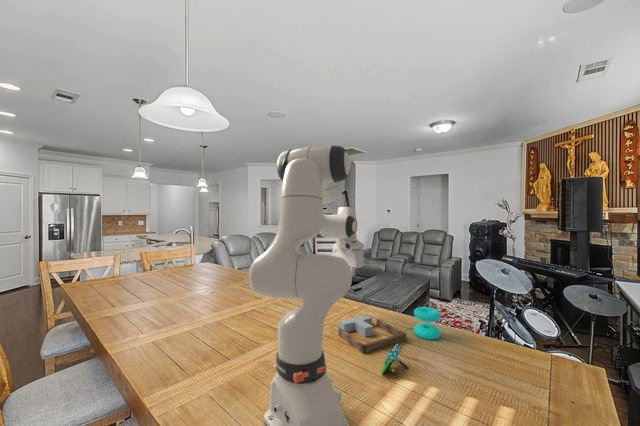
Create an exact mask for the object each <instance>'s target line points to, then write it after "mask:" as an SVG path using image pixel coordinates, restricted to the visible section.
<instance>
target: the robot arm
mask: <svg viewBox="0 0 640 426" xmlns="http://www.w3.org/2000/svg"><path fill="white" fill-rule="evenodd" d="M276 161H277V162H276V171H277V175H278V178H279V179H280V180H281V181H282V186H281V192H280V193H281V194H280V211H279V212H280V213H279V219H278V226H277V232H276V234H275V236H274V238H273V240H272V242H271V243H270V245H269V246H268V248H267V249H266V250H265V251H263V253H261V254H260V255H258V256H257V257H256V258H255V259H254V260H253V261H252V263H251V265H250V267H249V271H248V283H249V286H250V288H251V290H252V292H253V293H255V294H257V295H259V296H263V297H267V298H271V299H291V300H292V299H296V300H300V301H301V302H302V304H301V306H299V307H298V308H296V309H293V310H292V311H289V312H287V313H285V315H284V316H283V317H281V318H280V320H279V323H278V326H277V352H276V356H275V357H276V358H275V365H276V366H275V369H276V372H275V376H274V378H273V379H272V381H270V390H269V391H270V392H269V393H270V394H269V408H268V410H267V411H266V412H265V413H264V415H263V422H264V423H265V426H350V424H349V422H348V419H347V418H346V416H345V413H344V412H343V410H342V408H341V404H340V402H341V401H342V400H343V399H342V392H341V391H340V389H336V390H335V388H334V386H333V378H332V377H331V376H329V374H328V371H327V365H326V357H325V352H324V350H323V333H324V324H325V321H326V317H327V315H328V312H330V310H331V308H332V307H333V305H335V304H336V303H337V302H338V301H339V300H341V299H343V297H345V296H346V294H347V293H348V292H349V290H350V288H351V285H352V283H353V277H354V276H355V272H356V269H360V268H363V266H364V265H365V264H364V260H365V258H364V248H365V246H364V244H363V242H361V241H360V240H359V239H358V238H357V231H358V220H357V212H356V209H355V208H354V207H353V206H348V205H347V206H346V205H345V206H340V207H338V208H337V212H336V213H337V214H325V213H324V205H326V204H330V203H333V202H335V201H336V200H338V199H339V198H340V197H341V196H342V195H343V193H344V190H345V180H346V179H347V178H348V176H349V175H350V170H351V164H352V163H351V158H350V156H349V154H348V150H347V149H345V148H344V146H341V145H331V146H306V147H300V148H296V149H288V150H285V151H282V152H281V153H280V154H279V156H278V158H277V160H276ZM315 237H316V238H317V239H325V238H330V239H331V238H333V239H335V238H336V241H335V242H334V243H333V247H332V250H331V251H332V253H331V254H320V253H317V254H316V253H310V254H309V253H299V252H300V251H299V250H300V247H301V246H302V244H303V243H305V242H307V241H310V240H312V239H313V238H315Z"/></svg>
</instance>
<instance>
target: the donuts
mask: <svg viewBox="0 0 640 426" xmlns="http://www.w3.org/2000/svg"><path fill="white" fill-rule="evenodd" d="M413 314H414V317H416V318H417V319H418V320H420V321H422V323H417V324H416V325H415V326H414V327H413V332H414V334H415V335H416V336H417V337H419V338H421V339H424V340H428V341H429V340H433V341H434V340H438V339H439V338H440V337H441V335H442V334H441V330H440V329H439V327H438V326H436V325H435V324H431V323H434V322H439V320H440V319H441V317H442V314H441V312H440V311H439V310H438V309H436V308H434V307H429V306H418V307H416V308H414V311H413Z"/></svg>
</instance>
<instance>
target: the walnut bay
mask: <svg viewBox="0 0 640 426" xmlns="http://www.w3.org/2000/svg"><path fill="white" fill-rule="evenodd" d="M376 326H377V327H378V326H379V327H378V328H380V329H382V330H383V329H384V330H383V331H385V330H386V331H385V332H387V333H389V334H390V333H391V336H388V337H385V338H382V339H377V340H374V341H371V342H370V341H369V342H368V343H362V342H361V341H360V340H358V339H357V338H355V337H354V336H353V335H351V334H350V333H349V332H346V331H344V330H343V329H341V328H340V329H339V328H338V332H337V333H338V336H339V337H340V338H342V340H344V341H345V342H347V343H348V344H349V345H351V346H352V347H353V348H354V349H356V350H357V351H359V352H360V353H361V354H366V353H370V352H373V351H377V350H380V349H383V348H387V347H390V346H394V345H397V343H398V344H400V343H403V341H404V342H407V333H406V332H404V331H401V330H400V329H397V328H396V327H393V326H392V325H390V324H388V323H387V322H385V321H383V320H381V319H379V318H378V319H376Z"/></svg>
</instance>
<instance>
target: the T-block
mask: <svg viewBox="0 0 640 426" xmlns="http://www.w3.org/2000/svg"><path fill="white" fill-rule="evenodd" d="M338 323H339V324H338V326H339V327H338V329H340V328H341V329H343V330H344V331H346V332H347V333H349V332H354V331H355V332H356V333H358V334H359V335H361V336H362V337H364V338H366V337H367V338H368V337H371V336H374V326H373V318H372V316H369V315H367V314H365V315H360V316H356V317H352V318H348V319H342V320H338Z"/></svg>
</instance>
